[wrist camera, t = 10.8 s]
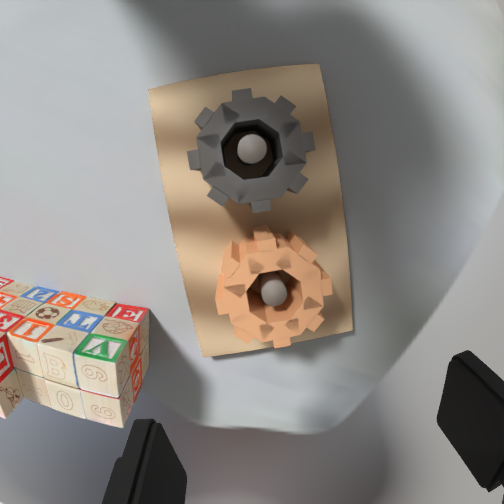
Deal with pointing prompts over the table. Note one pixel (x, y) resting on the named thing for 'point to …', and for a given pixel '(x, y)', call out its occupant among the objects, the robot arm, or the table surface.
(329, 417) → the table surface
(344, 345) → the table surface
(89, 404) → the stack of blocks
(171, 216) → the gear board
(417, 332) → the table surface
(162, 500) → the robot arm
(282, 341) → the loose gear
